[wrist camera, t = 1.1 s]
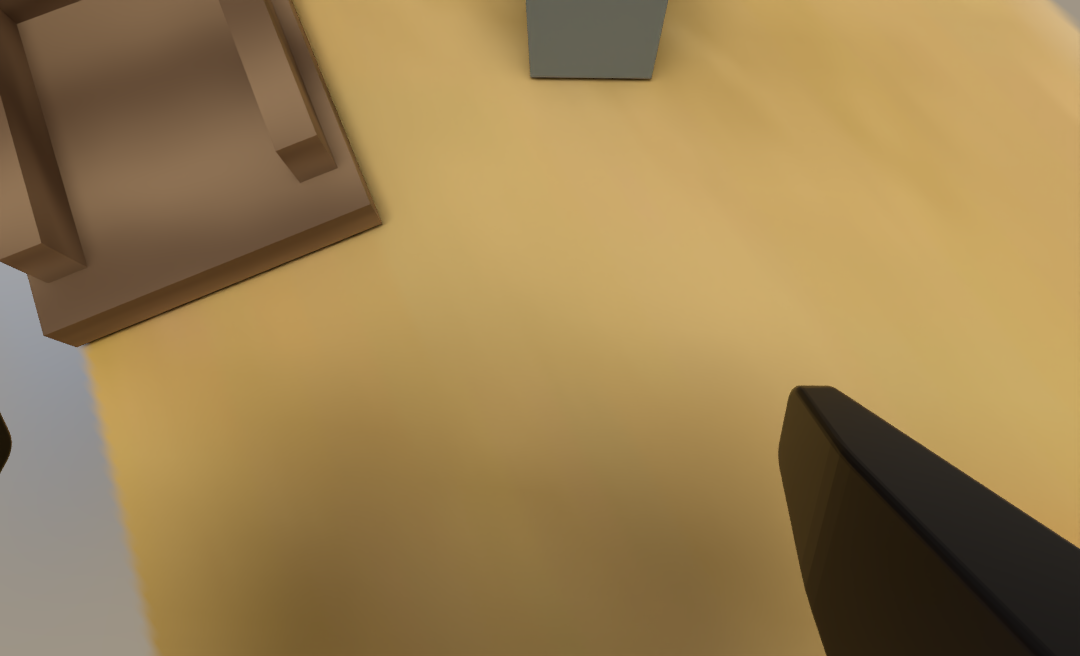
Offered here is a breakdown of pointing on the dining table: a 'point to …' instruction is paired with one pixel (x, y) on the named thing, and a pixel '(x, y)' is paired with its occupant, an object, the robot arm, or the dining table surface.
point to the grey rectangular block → (594, 37)
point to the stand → (163, 154)
